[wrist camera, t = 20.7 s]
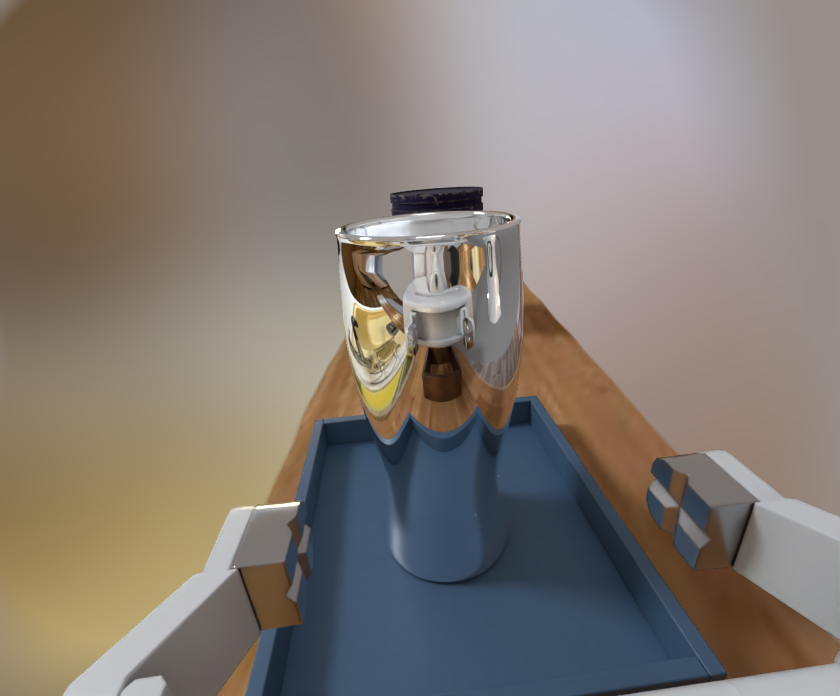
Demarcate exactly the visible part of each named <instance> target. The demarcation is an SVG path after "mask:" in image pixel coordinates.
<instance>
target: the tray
mask: <svg viewBox="0 0 840 696" xmlns="http://www.w3.org/2000/svg"><path fill="white" fill-rule="evenodd" d="M499 476H500V477H499V491H500V498H501V503H502V507H503V511H504V515H505V519H506V524H507V540H506V544H505V547H504V549H503V552H502V554H501V555H500V557H499V558H498V560H497V561H496V562H495V563H494V564H493V565H492V566H491V567H490V568H489V569H488V570H486V571H485V572H483V573H482V574H480V575H478V576H476V577H474V578H471V579H468V580H465V581H460V582H453V583H439V582H432V581H428V580H424V579H422V578H419V577H417V576H415V575H413V574H411V573H409V572H408V571H406V570H405V569H404V568H403V567H402V566H400V565H399V564H398V562H397V561H396V560H395V559H394V557H393V556H392V554H391V552H390V550H389V547H388V545H387V541H386V533H385V524H386V512H387V503H388V488H387V480H386V475H385V470H384V467H383V464H382V461H381V458H380V455H379V452H378V449H377V447H376V444H375V441H374V438H373V436H372V433H371V430H370V428H369V425H368V422H367V419H366V416H365V414H364V415H355V416H346V417H337V418H328V419H319V420H315V424H314V428H313V432H312V436H311V440H310V443H309V447H308V451H307V455H306V459H305V463H304V467H303V471H302V475H301V479H300V483H299V487H298V490H297V494H296V498H295V501H303V502H304V504H305V507H306V511H307V518H306V523H305V524H306V525H307V526H309V527H310V528H311V531H312V535H313V543H314V561H313V568H312V574H311V575H310V576H309V577H308V578H307V579H306V581H305V582H306V585H307V589H308V598H307V603H306V609H305V615H304V620H303V624H299V625H292V626H286V627H280V628H274V629H268V630H262V632H261V636H260V639H259V643H258V647H257V651H256V655H255V659H254V663H253V667H252V671H251V675H250V679H249V683H248V687H247V690H246V694H245V696H619V695H626V694H633V693H639V692H646V691H653V690H660V689H666V688H673V687H680V686H686V685H693V684H700V683H706V682H713V681H720V680H725V678H726V676H727V672H726V670H725V669H724V667H723V666H722V664H721V663H720V661H719V660H718V659H717V657H716V656H715V654H714V653H713V651H712V650H711V648H710V647H709V646H708V644H707V643H706V641H705V640H704V638H703V637H702V635H701V634H700V632H699V631H698V630H697V628H696V627H695V625H694V624H693V622H692V621H691V619H690V618H689V617H688V615H687V614H686V612H685V611H684V609H683V608H682V606H681V605H680V604H679V602H678V601H677V599H676V598H675V596H674V595H673V593H672V592H671V590H670V589H669V588H668V586H667V585H666V583H665V582H664V580H663V579H662V577H661V576H660V575H659V573H658V572H657V570H656V569H655V567H654V566H653V564H652V563H651V561H650V560H649V559H648V557H647V556H646V554H645V553H644V551H643V550H642V548H641V547H640V546H639V544H638V543H637V541H636V540H635V538H634V537H633V535H632V534H631V533H630V531H629V530H628V528H627V527H626V525H625V524H624V522H623V521H622V519H621V518H620V517H619V515H618V514H617V512H616V511H615V509H614V508H613V506H612V505H611V504H610V502H609V501H608V499H607V498H606V496H605V495H604V493H603V492H602V490H601V489H600V488H599V486H598V485H597V483H596V482H595V480H594V479H593V477H592V476H591V475H590V473H589V472H588V470H587V469H586V467H585V466H584V464H583V463H582V462H581V460H580V459H579V457H578V456H577V454H576V453H575V451H574V450H573V448H572V447H571V446H570V444H569V443H568V441H567V440H566V438H565V437H564V435H563V434H562V433H561V431H560V430H559V428H558V427H557V425H556V424H555V422H554V421H553V419H552V418H551V417H550V415H549V414H548V412H547V411H546V409H545V408H544V406H543V405H542V404H541V402H540V401H539V399H538V398H537V396H529V397H518V398H515V402H514V406H513V411H512V415H511V420H510V424H509V428H508V432H507V436H506V441H505V445H504V449H503V454H502V459H501V464H500V474H499Z"/></svg>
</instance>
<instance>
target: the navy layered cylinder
mask: <svg viewBox="0 0 840 696" xmlns="http://www.w3.org/2000/svg"><path fill="white" fill-rule="evenodd" d="M482 196H483V188H482V187H449V188H434V189H424V190H423V189H422V190H412V191H405V192H397V193H392V194H390V200H391V203H392V207H393V208H392V210H391V211H392V216H395V215H403V214H413V213H425V212H441V211H483V203H482V202H481V197H482Z"/></svg>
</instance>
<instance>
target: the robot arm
mask: <svg viewBox="0 0 840 696" xmlns="http://www.w3.org/2000/svg"><path fill="white" fill-rule="evenodd" d="M651 473H652V474H653V475H654V477H655V478H656V479H655V480H654V481H653V482H652V483H651V484H650V485H649V486H648V491H647V498H646V499H647V503H648V508H649V511H650V513H651V515H652V517H653V519H654V521H655V522H656V523H657V525H658V526H659V527H660V529H662V530H664V531H666V532H668V533H669V534H671V535H673V545H674V547H675V548H676V549H677V550H678V552H679V553H680V554H681V555H682V557H683V558H684V559H685V560H686V562H687V563H688V564H689V566H690V567H691V568H692V569H693V571H700V570H709V569H719V568H728V567H733V570H735V571H736V572H738V573H739V574H741V575H742V576H744V577H745V578H747V579H748V580H750V581H751V582H753V583H754V584H756V585H757V586H759V587H760V588H762V589H763V590H765V591H766V592H768V593H769V594H771V595H772V596H774V597H775V598H777V599H778V600H780V601H781V602H783V603H784V604H786V605H787V606H789V607H790V608H792V609H794V610H795V611H797V612H798V613H800V614H801V615H803V616H804V617H806V618H807V619H809V620H810V621H812V622H813V623H815V624H816V625H818V626H819V627H821V628H822V629H824V630H825V631H827V632H828V633H830V634H831V635H833V636H834V637H836V638H837V639H839V640H840V517H838V516H836V515H833V514H831V513H829V512H826V511H824V510H821V509H819V508H816V507H814V506H811V505H809V504H806V503H804V502H801V501H798V500H796V499H793V498H789V499H785V498H784V497H783V496H782V495H780V494H779V493H778V492H777V491H775V490H774V489H772V487H770V486H769V485H768V484H767V483H765V482H764V481H763V480H762V479H760V478H759V477H758V476H757V475H756V474H754V473H753V472H752V471H751V470H749V469H748V468H747V467H746V466H744V465H743V464H742V463H740V462H739V461H738V460H737V459H736V458H735V457H733V456H732V455H731V454H729V453H728V452H726V451H723V450H713V451H706V452H699V453H693V454H685V455H677V456H669V457H661V458H657V459H656V460H655V461H654V462H653V465H652V470H651ZM306 518H307V511H306V507H305V504H304V502H303V501H292V502H282V503H271V504H262V505H257V506H245V507H235V508H233V509H232V510H231V511H230V512H229V513H228V516H227V518H226V520H225V522H224V525H223V527H222V529H221V531H220V534H219V536H218V538H217V540H216V542H215V545H214V547H213V550H212V552H211V554H210V556H209V558H208V561H207V563H206V565H205V567H204V569H203V572H202V573H198V574H194V575H193V576H192V577H191V578H190V579H188V580H187V581H186V582H185V583H184V584H183V585H182V586H180V587H179V588H178V589H177V590H176V591H175V592H174V593H173V594H171V595H170V596H169V597H168V598H167V599H166V600H165V601H163V602H162V603H161V604H160V605H159V606H158V607H157V608H156V609H154V610H153V611H152V612H151V613H150V614H149V615H148V616H147V617H146V618H144V619H143V620H142V621H141V622H140V623H139V624H138V625H136V626H135V627H134V628H133V629H132V630H131V631H130V632H129V633H127V634H126V635H125V636H124V637H123V638H122V639H121V640H120V641H118V642H117V643H116V644H115V645H114V646H113V647H112V648H111V649H109V650H108V651H107V652H106V653H105V654H104V655H103V656H102V657H100V658H99V659H98V660H97V661H96V662H95V663H94V664H92V665H91V666H90V667H89V668H88V669H87V670H86V671H85V672H84V673H82V674H81V675H80V676H79V677H78V678H77V679H76V680H74V681H73V682H72V683H71V684H70V685H69V686H68V688H67V689H66V691H65V693H64V694H63V696H217V694H218V693H219V691H220V690H221V689H222V687H223V686H224V684H225V683H226V682H227V680H228V679H229V677H230V676H231V675H232V673H233V672H234V670H235V669H236V668H237V666H238V665H239V663H240V662H241V661H242V659H243V658H244V656H245V655H246V654H247V652H248V651H249V649H250V648H251V647H252V645H253V644H254V643H255V641H256V640H257V638H258V637H259V636H260V634H261V632H260V631H262V630H268V629H274V628H280V627H286V626H292V625H299V624H303V620H304V615H305V609H306V603H307V598H308V589H307V585H306V582H305V581H306V579H307V578H308V577H309V576H310V575H311V574H312V568H313V561H314V543H313V535H312V531H311V528H310V527H309V526H307V525H306V524H305V523H306ZM619 696H840V650H839V652H838V654H837V655H836V657H835V660H834V664H827V665H820V666H814V667H807V668H800V669H794V670H787V671H780V672H773V673H767V674H760V675H753V676H747V677H740V678H733V679H727V680H720V681H713V682H706V683H700V684H693V685H686V686H680V687H673V688H666V689H660V690H653V691H646V692H639V693H633V694H626V695H619Z"/></svg>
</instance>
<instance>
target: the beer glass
mask: <svg viewBox="0 0 840 696" xmlns="http://www.w3.org/2000/svg"><path fill="white" fill-rule="evenodd" d="M520 223H521V218H520V217H519V216H517V215H515V214H511V213H506V212H496V211H441V212H425V213H413V214H403V215H395V216H387V217H380V218H374V219H369V220H363V221H359V222H354V223H351V224H347V225H344V226H342V227H340V228H339V229H337V230H336V237H337V244H338V255H339V271H340V287H341V299H342V312H343V320H344V328H345V337H346V344H347V349H348V354H349V360H350V365H351V370H352V375H353V378H354V381H355V385H356V388H357V392H358V395H359V398H360V402H361V405H362V408H363V411H364V413H365V416H366V419H367V422H368V425H369V428H370V430H371V433H372V436H373V438H374V441H375V444H376V447H377V449H378V452H379V455H380V458H381V461H382V464H383V467H384V470H385V475H386V480H387V488H388V503H387V512H386V524H385V533H386V541H387V545H388V547H389V550H390V552H391V554H392V556H393V557H394V559H395V560H396V561H397V562H398V564H399V565H400V566H402V567H403V568H404V569H405V570H406V571H408V572H409V573H411V574H413V575H415V576H417V577H419V578H422V579H424V580H428V581H432V582H439V583H453V582H460V581H465V580H468V579H471V578H474V577H476V576H478V575H480V574H482V573H483V572H485V571H486V570H488V569H489V568H490V567H491V566H492V565H493V564H494V563H495V562H496V561H497V560H498V558H499V557H500V555H501V554H502V552H503V549H504V547H505V544H506V540H507V524H506V519H505V515H504V511H503V507H502V503H501V498H500V491H499V477H500V476H499V474H500V464H501V459H502V454H503V449H504V445H505V441H506V436H507V432H508V428H509V424H510V420H511V415H512V411H513V406H514V402H515V398H516V393H517V387H518V381H519V375H520V369H521V362H522V348H523V333H524V295H523V272H522V257H521V238H520Z"/></svg>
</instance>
